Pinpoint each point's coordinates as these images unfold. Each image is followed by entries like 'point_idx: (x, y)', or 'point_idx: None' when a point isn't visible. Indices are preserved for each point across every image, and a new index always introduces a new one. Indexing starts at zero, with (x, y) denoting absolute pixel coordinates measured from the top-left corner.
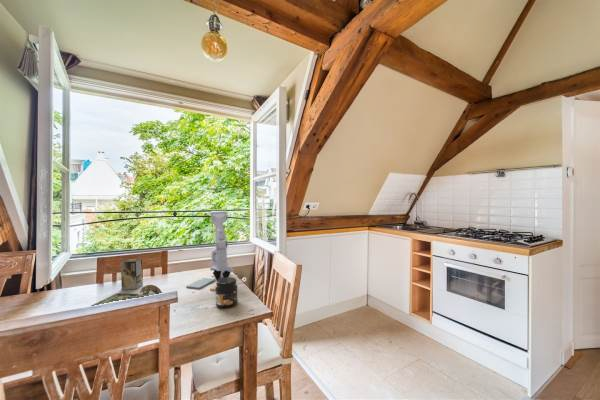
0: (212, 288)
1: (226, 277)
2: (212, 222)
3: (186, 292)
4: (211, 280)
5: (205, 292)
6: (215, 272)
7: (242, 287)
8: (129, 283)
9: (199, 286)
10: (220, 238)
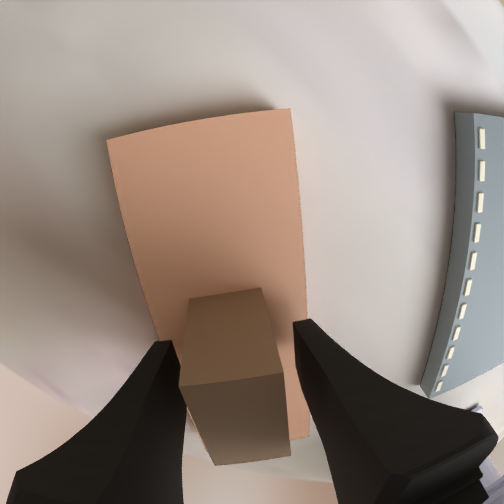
0: (259, 137)
1: None
2: None
3: (493, 18)
4: (452, 359)
5: (306, 39)
6: (422, 484)
7: (21, 373)
8: None
9: (490, 149)
10: None
